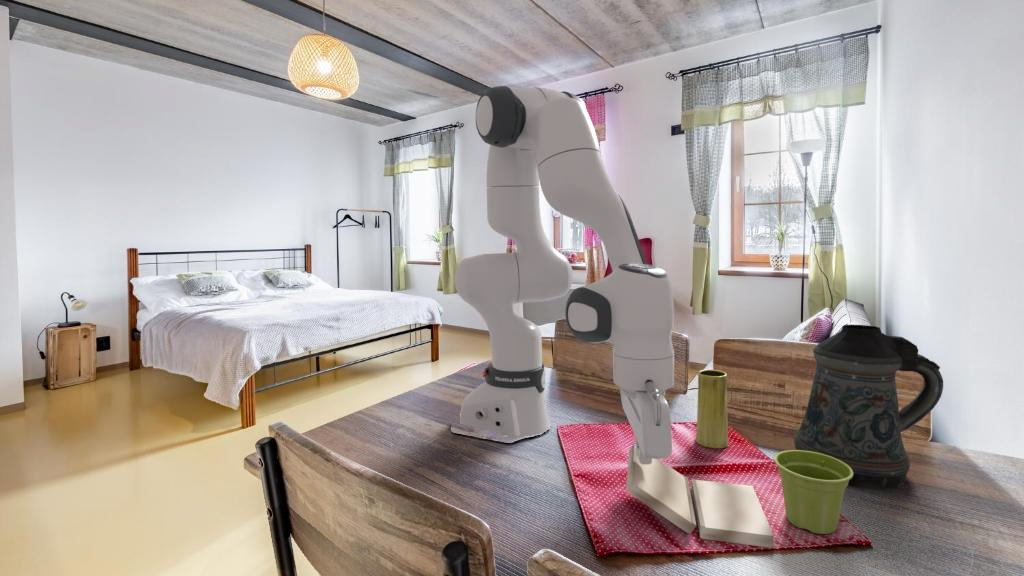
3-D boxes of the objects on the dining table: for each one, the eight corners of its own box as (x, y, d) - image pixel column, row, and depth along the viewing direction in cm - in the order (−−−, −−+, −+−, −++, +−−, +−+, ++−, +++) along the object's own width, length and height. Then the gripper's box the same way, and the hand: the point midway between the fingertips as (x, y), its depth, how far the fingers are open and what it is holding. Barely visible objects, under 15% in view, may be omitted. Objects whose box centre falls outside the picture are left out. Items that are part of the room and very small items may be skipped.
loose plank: (626, 490, 66) (632, 481, 66) (629, 450, 79) (634, 443, 78) (689, 534, 64) (696, 525, 64) (682, 486, 77) (688, 478, 76)
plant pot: (759, 506, 71) (760, 451, 70) (817, 501, 72) (819, 447, 71) (802, 545, 62) (804, 483, 61) (868, 539, 63) (871, 478, 62)
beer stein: (773, 449, 90) (776, 321, 87) (867, 441, 92) (872, 316, 89) (842, 495, 73) (848, 339, 71) (954, 485, 75) (963, 332, 73)
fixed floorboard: (700, 538, 64) (700, 525, 64) (691, 489, 76) (691, 478, 76) (773, 548, 62) (773, 535, 61) (752, 495, 74) (752, 485, 74)
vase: (732, 450, 90) (733, 377, 89) (698, 448, 91) (698, 377, 90) (724, 436, 96) (725, 369, 95) (692, 435, 97) (693, 368, 96)
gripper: (684, 393, 60) (684, 497, 61) (650, 355, 80) (651, 433, 81) (633, 394, 60) (635, 496, 61) (613, 356, 80) (614, 433, 82)
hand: (643, 460), depth 71 cm, fingers closed
